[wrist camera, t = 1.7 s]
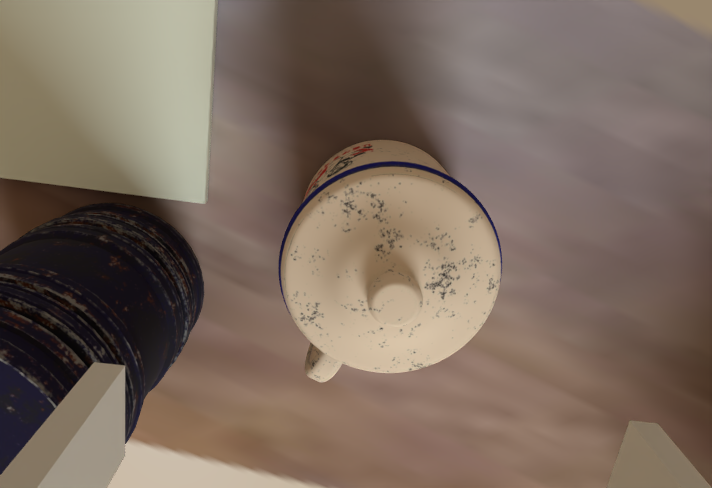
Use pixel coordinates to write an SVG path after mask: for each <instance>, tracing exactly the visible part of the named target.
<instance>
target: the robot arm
mask: <svg viewBox="0 0 712 488" xmlns="http://www.w3.org/2000/svg"><path fill="white" fill-rule="evenodd" d="M124 456H125V366H124V365H115V364H106V363H97V362H94V363H93V364H92V365H91V367H90V368H89V369H88V370H87V371H86V373H85V374H84V375H83V376H82V377H81V379H80V380H79V381H78V382H77V383H76V385H75V386H74V387H73V388H72V390H71V391H70V392H69V393H68V394H67V396H66V397H65V398H64V399H63V400H62V402H61V403H60V404H59V405H58V406H57V408H56V409H55V410H54V411H53V412H52V414H51V415H50V416H49V417H48V418H47V420H46V421H45V422H44V423H43V424H42V426H41V427H40V428H39V429H38V430H37V432H36V433H35V434H34V435H33V437H32V438H31V439H30V440H29V441H28V443H27V444H26V445H25V446H24V447H23V449H22V450H21V451H20V452H19V453H18V455H17V456H16V457H15V458H14V459H13V461H12V462H11V463H10V464H9V465H8V467H7V468H6V469H5V470H4V471H3V473H2V474H1V475H0V488H107V487H108V485H109V483H110V481H111V480H112V478H113V476H114V474H115V473H116V471H117V469H118V467H119V465H120V464H121V462H122V460H123V458H124ZM607 488H712V487H711V486H710V485H709V484H708V483H707V481H706V480H705V479H704V478H703V477H702V475H701V474H700V473H699V472H698V471H697V469H696V468H695V467H694V466H693V465H692V464H691V462H690V461H689V460H688V459H687V458H686V456H685V455H684V454H683V453H682V452H681V450H680V449H679V448H678V447H677V446H676V445H675V443H674V442H673V441H672V440H671V439H670V437H669V436H668V435H667V434H666V433H665V431H664V430H663V429H662V428H661V427H660V426H659V424H658V423H649V422H640V421H631V420H630V421H629V424H628V427H627V430H626V433H625V436H624V439H623V441H622V444H621V447H620V450H619V453H618V456H617V459H616V462H615V465H614V467H613V470H612V473H611V476H610V479H609V482H608V485H607Z"/></svg>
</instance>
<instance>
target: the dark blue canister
mask: <svg viewBox="0 0 712 488" xmlns="http://www.w3.org/2000/svg"><path fill="white" fill-rule="evenodd" d="M203 298H204V282H203V277H202V272H201V269H200V266H199V263H198V260H197V258H196V256H195V255H194V253H193V251H192V249H191V247H190V246H189V245H188V243H187V242H186V241H185V239H184V238H183V237H182V236H181V235H180V234H179V233H178V232H177V231H176V230H175V229H174V228H173V227H172V226H171V225H169V224H168V223H166V222H165V221H164V220H162V219H161V218H159V217H157V216H155V215H154V214H152V213H150V212H148V211H145V210H142V209H140V208H137V207H134V206H129V205H124V204H116V203H101V204H92V205H88V206H84V207H81V208H78V209H76V210H74V211H72V212H69V213H67V214H66V215H64V216H62V217H59V218H56V219H53V220H51V221H49V222H46V223H44V224H42V225H40V226H38V227H36V228H34V229H33V230H31V231H29V232H28V233H26V234H25V235H23V236H22V237H20V238H19V239H18V240H17V241H15V242H13V243H11V244H10V245H8V246H7V247H6V248H4V249H3V250H1V251H0V475H1V474H2V473H3V471H4V470H5V469H6V468H7V467H8V465H9V464H10V463H11V462H12V461H13V459H14V458H15V457H16V456H17V455H18V453H19V452H20V451H21V450H22V449H23V447H24V446H25V445H26V444H27V443H28V441H29V440H30V439H31V438H32V437H33V435H34V434H35V433H36V432H37V430H38V429H39V428H40V427H41V426H42V424H43V423H44V422H45V421H46V420H47V418H48V417H49V416H50V415H51V414H52V412H53V411H54V410H55V409H56V408H57V406H58V405H59V404H60V403H61V402H62V400H63V399H64V398H65V397H66V396H67V394H68V393H69V392H70V391H71V390H72V388H73V387H74V386H75V385H76V383H77V382H78V381H79V380H80V379H81V377H82V376H83V375H84V374H85V373H86V371H87V370H88V369H89V368H90V367H91V365H92V364H93V363H94V362H97V363H106V364H115V365H124V366H125V444H126V443H127V441H128V440H129V438H130V436H131V434H132V433H133V431H134V429H135V427H136V424H137V421H138V418H139V415H140V411H141V408H142V405H143V401H144V398H145V397H146V395H147V394H148V392H149V391H151V390H152V389H153V388H154V387H155V386H156V385H157V384H158V383H159V381H160V380H161V379H162V378H163V377H164V375H165V373H166V372H167V370H168V369H169V368H170V367H171V365H172V364H173V363H174V362H175V361H176V359H177V357H178V356H179V354H180V352H181V351H182V349H183V347H184V345H185V343H186V342H187V340H188V337H189V334H190V332H191V330H192V328H193V327H194V325H195V323H196V321H197V320H198V318H199V315H200V312H201V309H202V305H203Z"/></svg>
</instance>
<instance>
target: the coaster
mask: <svg viewBox="0 0 712 488" xmlns="http://www.w3.org/2000/svg"><path fill="white" fill-rule="evenodd" d="M217 10H218V0H0V178H6V179H14V180H22V181H30V182H37V183H45V184H53V185H61V186H69V187H76V188H84V189H92V190H100V191H108V192H115V193H123V194H131V195H139V196H147V197H154V198H162V199H170V200H178V201H186V202H193V203H201V204H205V203H206V202H207V201H208V182H209V163H210V144H211V125H212V106H213V86H214V67H215V48H216V29H217Z"/></svg>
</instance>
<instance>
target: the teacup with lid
mask: <svg viewBox="0 0 712 488" xmlns="http://www.w3.org/2000/svg"><path fill="white" fill-rule="evenodd" d="M501 274H502V255H501V248H500V242H499V239H498V235H497V232H496V229H495V227H494V224H493V222H492V220H491V218H490V216H489V215H488V213H487V211H486V210H485V208H484V207H483V205H482V204H481V203H480V202H479V200H478V199H477V198H476V197H475V196H474V195H473V194H472V193H471V192H470V191H469V190H468V189H467V188H466V187H465V186H463V185H462V184H461V183H459V182H458V181H457V180H455V179H453V178H452V177H450V175H449V174H448V173H447V172H446V171H445V169H444V168H443V167H442V166H441V165H440V164H439V163H438V162H437V161H436V160H435V159H434V158H433V157H431V156H430V155H429V154H427V153H426V152H424V151H423V150H421V149H419V148H417V147H415V146H412V145H410V144H407V143H403V142H399V141H393V140H371V141H365V142H361V143H357V144H355V145H352V146H350V147H347V148H345V149H343V150H342V151H340V152H338V153H337V154H335V155H334V156H333V157H331V158H330V159H329V160H328V161H327V162H326V163H324V164H323V166H322V167H321V168H320V169H319V170H318V171H317V173H316V174H315V176H314V177H313V179H312V181H311V182H310V184H309V187H308V189H307V191H306V194H305V197H304V200H303V202H302V204H301V205H300V207H299V208H298V210H297V211H296V212H295V214H294V216H293V217H292V219H291V221H290V223H289V225H288V227H287V230H286V232H285V235H284V238H283V241H282V245H281V249H280V256H279V281H280V287H281V292H282V295H283V298H284V302H285V304H286V307H287V309H288V311H289V313H290V315H291V317H292V318H293V320H294V322H295V323H296V325H297V326H298V328H299V329H300V330H301V332H302V333H303V334H304V335H305V336H306V338H307V339H308V340H309V341H310V342H311V343H310V346H309V349H308V353H307V357H306V361H305V372H306V374H307V376H309V377H310V378H312V379H314V380H316V381H318V382H326V381H328V380H329V379H331V378H332V377H333V376H334V375H335V374H336V372H337V371H338V370H339V368H340V367H341V365H342V363H343V364H346V365H348V366H351V367H354V368H357V369H361V370H365V371H370V372H378V373H399V372H407V371H412V370H417V369H421V368H424V367H427V366H430V365H432V364H435V363H437V362H439V361H441V360H443V359H445V358H447V357H449V356H450V355H452V354H453V353H455V352H456V351H458V350H459V349H460V348H461V347H463V346H464V345H465V344H466V343H467V342H468V341H469V340H471V339H472V337H473V336H474V335H475V334H476V333H477V332H478V331H479V329H480V328H481V327H482V325H483V324H484V322H485V321H486V319H487V317H488V316H489V314H490V312H491V310H492V308H493V306H494V303H495V300H496V297H497V294H498V290H499V286H500V281H501Z"/></svg>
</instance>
